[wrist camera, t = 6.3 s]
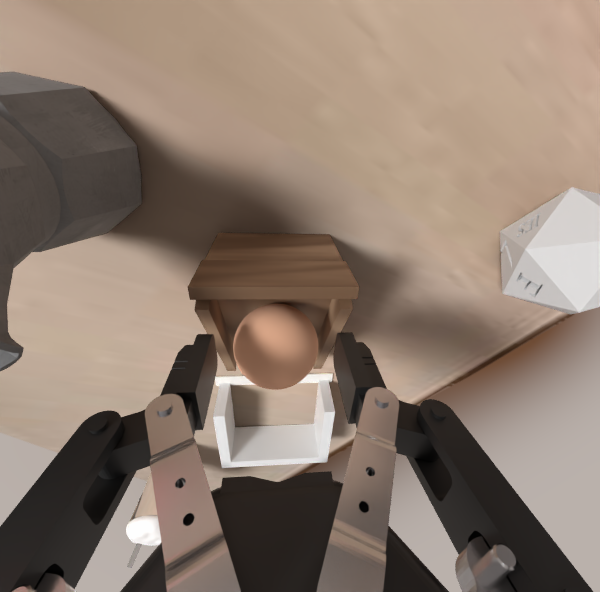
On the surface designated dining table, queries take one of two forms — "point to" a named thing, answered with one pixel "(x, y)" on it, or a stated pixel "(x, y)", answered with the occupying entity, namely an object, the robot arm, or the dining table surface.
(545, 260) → the die
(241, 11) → the dining table surface
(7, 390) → the dining table surface
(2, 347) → the coffeepot
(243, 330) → the ball
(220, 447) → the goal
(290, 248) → the ramp
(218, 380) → the tape line
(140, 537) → the milkshake
